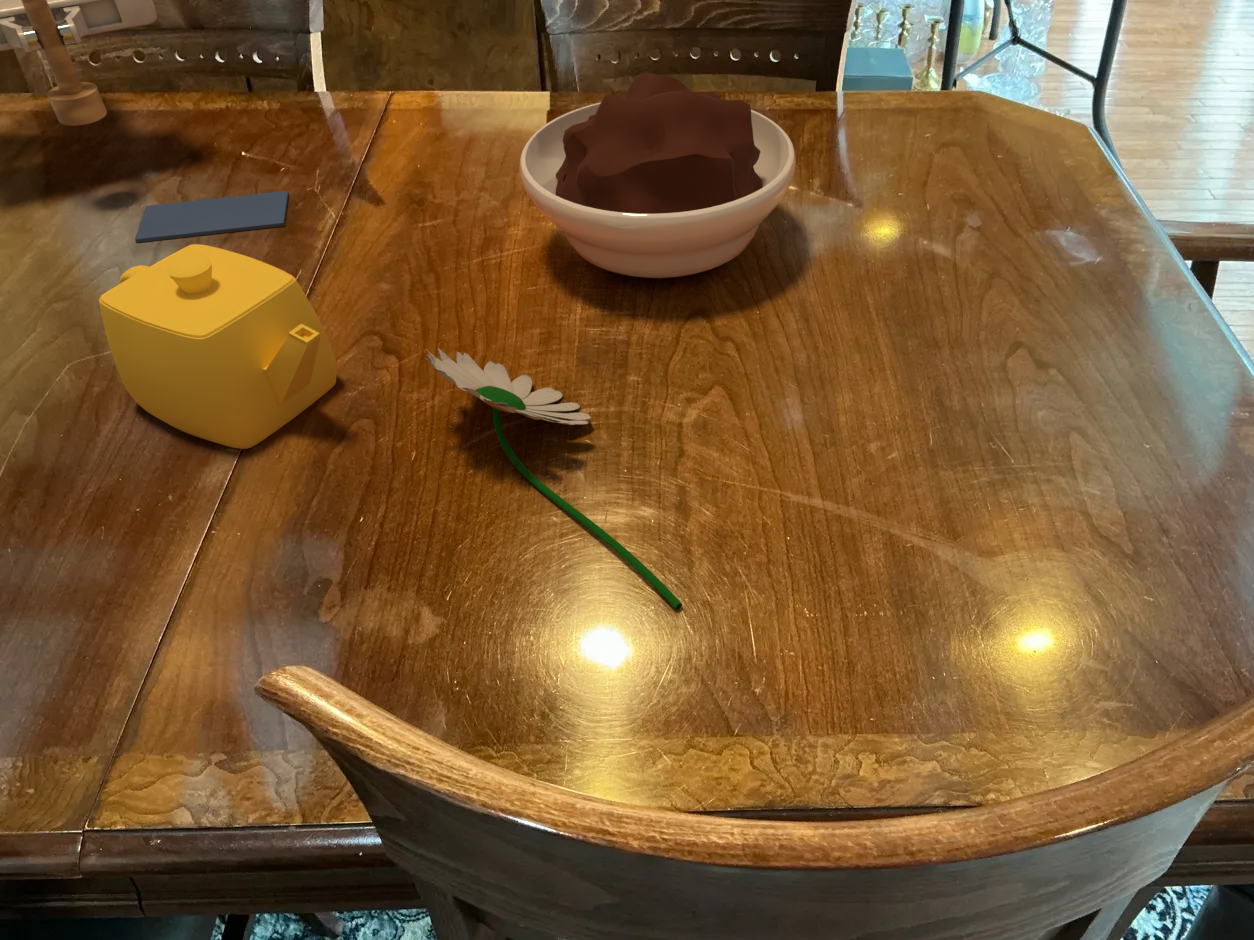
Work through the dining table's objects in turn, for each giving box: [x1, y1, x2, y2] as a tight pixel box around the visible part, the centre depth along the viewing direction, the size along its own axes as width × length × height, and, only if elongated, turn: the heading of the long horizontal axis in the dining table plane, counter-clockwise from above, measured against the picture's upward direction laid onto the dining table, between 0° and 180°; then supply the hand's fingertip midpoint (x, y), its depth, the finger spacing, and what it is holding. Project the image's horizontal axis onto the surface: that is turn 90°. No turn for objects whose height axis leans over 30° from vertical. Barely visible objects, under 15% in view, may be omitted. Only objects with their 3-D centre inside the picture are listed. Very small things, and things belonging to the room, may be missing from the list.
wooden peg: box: [21, 0, 108, 127], centre depth 100 cm, size 4×4×16 cm
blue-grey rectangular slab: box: [134, 190, 290, 243], centre depth 108 cm, size 14×7×1 cm, turn 102°
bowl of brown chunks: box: [518, 72, 797, 279], centre depth 98 cm, size 25×25×15 cm
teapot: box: [98, 243, 338, 450], centre depth 83 cm, size 20×12×12 cm, turn 61°
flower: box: [423, 347, 683, 611], centre depth 77 cm, size 13×6×30 cm
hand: (50, 39), depth 99 cm, fingers closed on wooden peg, 2 cm apart
